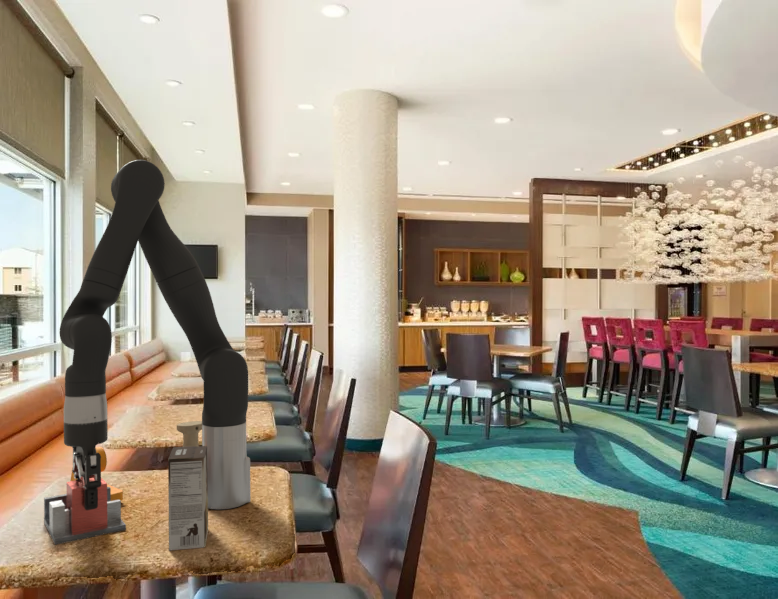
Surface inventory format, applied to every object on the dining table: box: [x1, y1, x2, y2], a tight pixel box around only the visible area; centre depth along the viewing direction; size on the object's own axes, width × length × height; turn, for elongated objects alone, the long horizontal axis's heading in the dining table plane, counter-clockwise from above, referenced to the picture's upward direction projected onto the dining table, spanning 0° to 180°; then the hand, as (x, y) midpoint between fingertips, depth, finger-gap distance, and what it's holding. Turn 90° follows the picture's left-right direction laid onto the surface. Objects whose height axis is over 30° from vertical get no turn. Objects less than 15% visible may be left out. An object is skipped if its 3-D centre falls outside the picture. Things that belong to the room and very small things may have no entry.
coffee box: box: [167, 445, 209, 551], centre depth 113 cm, size 9×6×16 cm
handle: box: [176, 420, 202, 447], centre depth 145 cm, size 5×6×15 cm
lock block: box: [65, 477, 108, 533], centre depth 118 cm, size 6×6×8 cm
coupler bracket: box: [43, 487, 127, 546], centre depth 120 cm, size 12×14×6 cm
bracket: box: [69, 446, 124, 502], centre depth 135 cm, size 11×7×12 cm, turn 49°
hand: (86, 503), depth 118 cm, fingers open, 8 cm apart
